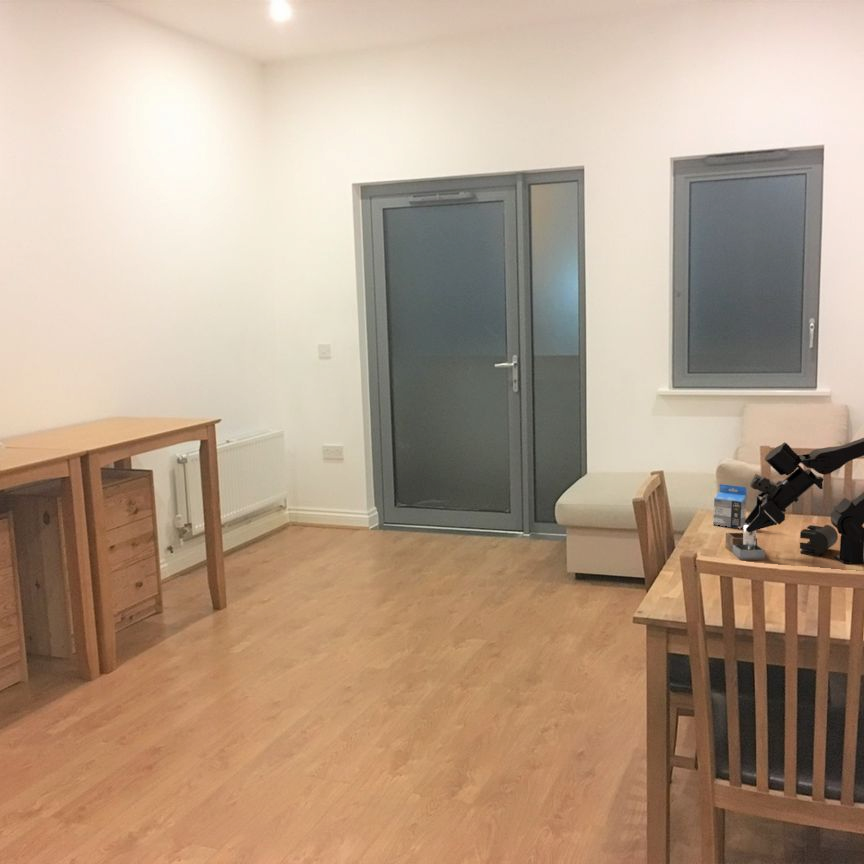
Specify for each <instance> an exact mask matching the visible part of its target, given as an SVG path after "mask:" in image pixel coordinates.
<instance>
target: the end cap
mask: <svg viewBox="0 0 864 864" xmlns="http://www.w3.org/2000/svg"><path fill="white" fill-rule="evenodd" d="M799 537H800V539H806V540H809V541H807V542H799V549H800V551H799V552H800V553H799V554H801V555H807V556H808V555H809V556H815V557H817V556H820V555H822V554H823V553H825V552H826V551H827V550H829V549H830V548H831V547H832V546H834V545H835V544H836V543H837V541H838V538H839V535H838V531H837V530H836V528H834V526H833V525H829V524H825V525H824V526H819V525H811V524H810V525H809V526H807V528H803V529H802V530H801V531H800V535H799Z"/></svg>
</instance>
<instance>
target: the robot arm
mask: <svg viewBox="0 0 864 864" xmlns="http://www.w3.org/2000/svg"><path fill="white" fill-rule="evenodd" d="M861 457H864V437H862V438H859V439H857V440H853V441H850V442H848V443H845V444H842V445H837V446H828V447H823V448H822V447H821V448H816V449H813V450H812V451H811V452H809V453H805V454H797V453H796V452H795V451H794V450H793V449H792V447H791V446H790V445H789V444H788V443H787V442H783V443H782V444H781V445H778V446H776V447H775V448H773V449H771V450H770V451H769V452H768V453H767V454H766V455H765V457H764V461H766V463H768V465H769V466H770V467H772V469H773V470H775V472H776V473H778V474H779V475H780V476H784V475H785V476H787V477H786V478H784V480H783V479H782V480H777V482H776V483H775V482H774V481H772V480H770V478H767V477H766V476H761V475H759V474H757V473H755V474H754V476H753V478H752V480H751V482H750V483H749V485H750V488H751V489H754V490H757V491H759V492H757V495H756V504H755V506H754V507H753V509H752V510H751V512H750V513H749V514H748V516H746V520H745V524H750V525H749V526H748V527H747V528H746V530H747V531H748V532H752V531H755V530H756V531H758V530H762V529H765V528H768V527H771V526H777V525H781V524H782V523H783V522H784V521H785V520H786V514H785V512H786V511H787V508H788V507H789V506H791V505H792V504H793V503H794V502H795V503H797V502H798V501H799V498H800V497H801V496H802V495H804V494H806V493H805V492H807V491H808V490H810V489H811V488H812V487H813V486H814V485H815V486H816V487H817V488H819V490H823V482H824V477H822V476H817V475H816V474H815V473H814V472H816V473H817V474H821V475H824V476H825V475H829V474H832V473H834V472H836V471H837V470H839V469H841V468H842V467H843V466H845V465H846V464H847V463H849V462H851V461H853V460H855V459H858V458H861ZM800 464H801V465H802V466H804V467H806V468H807V469H804V468H803V467H802V466H801V465H800ZM812 470H813V471H814V472H813V471H812ZM832 509H833V510H832V512H831V513H830V522H831V523H830V524H832V527H835V529H837V530H836V531H837V534H838V533H839V535H840V538H839V539H840V543H839V554H836V555H835V554H834V556H833V557H834V558H835V559H837V561H840V562H841V563H843V564H864V526H863V525H864V491H863V492H862V493H860V494H859V496H857V497H856V498H854V499H852V500H851V499H848V498H847V497H844V498H842V500H841V501H840V503H839V504H837V505H836V506H833V507H832Z"/></svg>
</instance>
